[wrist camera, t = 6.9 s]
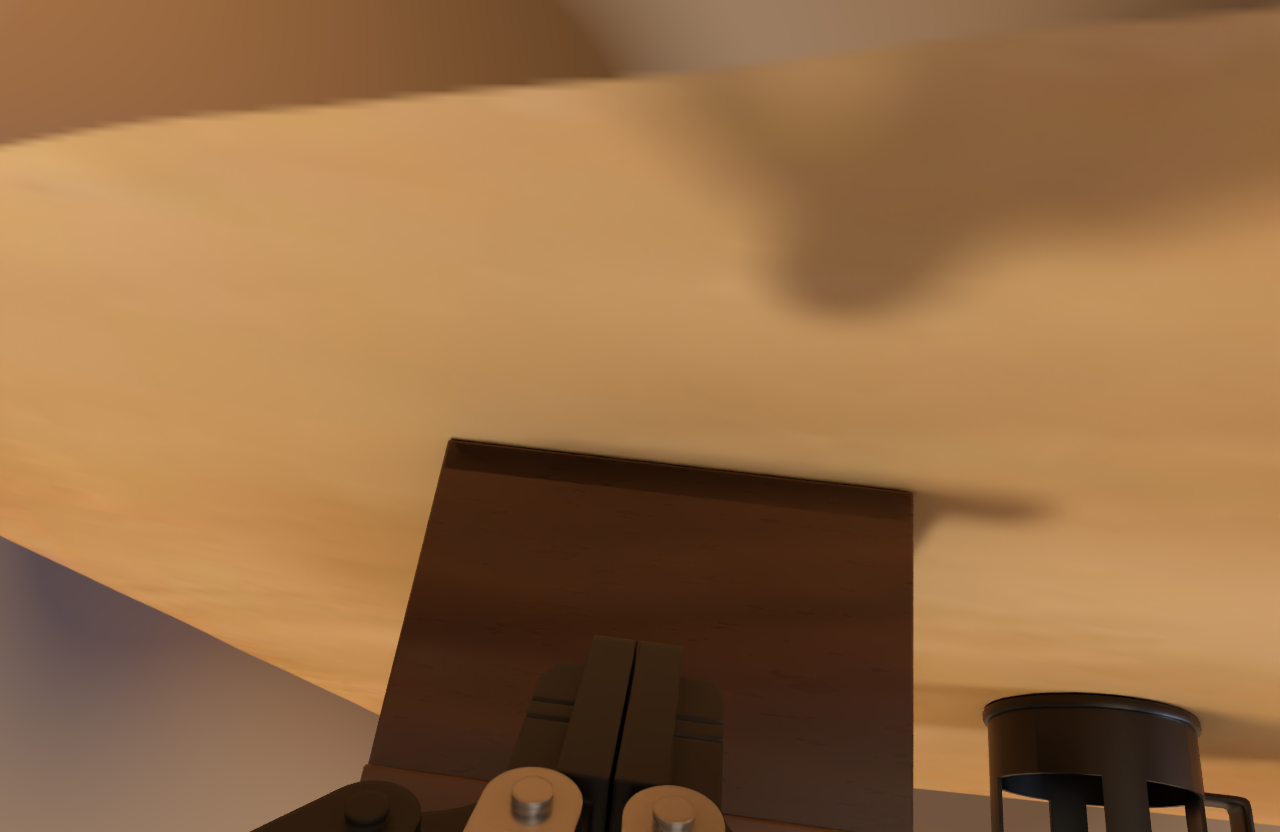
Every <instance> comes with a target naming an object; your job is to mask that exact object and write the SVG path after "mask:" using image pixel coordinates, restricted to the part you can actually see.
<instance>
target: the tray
mask: <svg viewBox="0 0 1280 832" xmlns="http://www.w3.org/2000/svg"><path fill="white" fill-rule="evenodd" d="M594 635H601V636H609V637H616V638H624V639H632V640H637V653H636V662H637V657H638V651H639V646H640V641H649V642H657V643H665V644H673V645H681V646H683V655H682V665H681V674H680V676H682V677H690V678H698V679H705V680H712V681H713V683H714V684H715V686H716V688H717V689H718V691H719V692H720V694H721V696H722V697H723V699H724V725H723V726H724V735H723V772H722V813H723V816H724V819H725V821H726V823H727V825H728V827H729V828H730V829H731V831H732V832H913V493H910V492H901V491H892V490H884V489H875V488H866V487H857V486H849V485H840V484H831V483H822V482H814V481H805V480H796V479H787V478H779V477H770V476H761V475H752V474H744V473H735V472H726V471H717V470H709V469H700V468H691V467H682V466H674V465H665V464H656V463H647V462H639V461H630V460H621V459H612V458H604V457H595V456H586V455H577V454H569V453H560V452H551V451H542V450H534V449H525V448H516V447H507V446H498V445H490V444H481V443H472V442H463V441H455V440H449V441H448V444H447V448H446V452H445V456H444V460H443V464H442V468H441V472H440V476H439V480H438V484H437V488H436V492H435V496H434V500H433V504H432V508H431V512H430V516H429V520H428V524H427V528H426V532H425V536H424V540H423V544H422V548H421V552H420V556H419V561H418V565H417V569H416V573H415V577H414V581H413V585H412V589H411V593H410V597H409V601H408V605H407V609H406V613H405V617H404V621H403V625H402V629H401V633H400V637H399V641H398V645H397V649H396V653H395V657H394V661H393V665H392V669H391V673H390V677H389V681H388V685H387V689H386V693H385V697H384V702H383V706H382V710H381V714H380V718H379V722H378V726H377V730H376V734H375V738H374V742H373V746H372V750H371V754H370V758H369V762H368V764H366V765H365V766H364V767H363V771H362V775H361V780H360V782H363V781H374V780H376V781H387V782H392V783H396V784H399V785H401V786H403V787H405V788H407V789H408V790H410V791H411V792H412V793H413V794H414V795H415V796H416V797H417V799H418V801H419V803H420V806H421V812H429V811H439V810H449V809H455V808H460V807H464V806H468V805H470V804H473V803H475V802H478V800H479V798H480V796H481V794H482V792H483V790H484V789H485V787H486V786H487V784H488V783H489V782H490V781H491V780H493V779H494V778H495V777H497V776H498V775H500V774H502V773H504V772H506V770H507V767H508V764H509V762H510V759H511V756H512V753H513V750H514V748H515V745H516V742H517V739H518V736H519V734H520V731H521V728H522V725H523V722H524V720H525V717H526V716H527V711H528V708H529V706H530V703H531V701H532V698H533V694H534V692H535V689H536V686H537V683H538V680H539V678H540V676H541V675H542V674H544V673H545V672H546V671H547V670H548V669H549V668H551V667H552V666H553V665H554V664H555V663H557V662H558V661H564V662H572V663H580V664H586V661H587V657H588V654H589V650H590V647H591V643H592V640H593V637H594ZM635 667H636V664H635Z"/></svg>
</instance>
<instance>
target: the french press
mask: <svg viewBox="0 0 1280 832" xmlns="http://www.w3.org/2000/svg"><path fill="white" fill-rule="evenodd" d="M983 721H984V723H985V725H986V726H987V727H988V744H989V773H990V799H991V800H990V801H991V829H992V830H991V831H992V832H1004V830H1003V805H1002V790H1003V791H1005V792H1009V793H1013V794H1016V795H1021V796H1026V797H1030V798H1036V799H1042V800H1048V801H1049V811H1050V827H1051V832H1088V823H1087V811H1086V805H1092V806H1104V810H1105V820H1106V821H1105V822H1106V832H1152V830H1151V821H1150V811H1149V808H1166V807H1180V806H1185V811H1186V819H1187V828H1188V832H1208V831H1207V823H1206V815H1205V807H1204V806H1209V807H1217V808H1224V809H1226V810H1227V811H1228V814H1229V819H1230V825H1231V832H1255V829H1254V822H1253V815H1252V809H1251V805H1250V802H1249V801H1248V800H1247V799H1246V798H1242V797H1238V796H1231V795H1222V794H1213V793H1205V792H1204V786H1203V779H1202V771H1201V763H1200V756H1199V748H1198V740H1197V738H1198V737H1200V734H1201V731H1202V728H1201V723H1200V721H1199V719H1198V718H1197V717H1196V716H1195V715H1193V714H1191V713H1190V712H1187V711H1185V710H1182V709H1179V708H1176V707H1172V706H1168V705H1164V704H1161V703H1156V702H1150V701H1145V700H1139V699H1131V698H1123V697H1113V696H1101V695H1079V694H1051V695H1033V696H1024V697H1016V698H1011V699H1006V700H1001V701H998V702H995V703H992V704H990V705H988V706H987V707H985V709H984V711H983Z"/></svg>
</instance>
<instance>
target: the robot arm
mask: <svg viewBox="0 0 1280 832" xmlns="http://www.w3.org/2000/svg"><path fill="white" fill-rule="evenodd" d="M636 653H637V640H632V639H624V638H616V637H609V636H601V635H594V637H593V640H592V643H591V647H590V650H589V654H588V657H587V661H586V664H580V663H572V662H564V661H558V662H557V663H555V664H554V665H553V666H552V667H551V668H549V669H548V670H547V671H546V672H545V673H544V674H542V675H541V676H540V678H539V680H538V683H537V686H536V689H535V692H534V694H533V698H532V701H531V703H530V706H529V708H528V711H527V716H526V717H525V720H524V722H523V725H522V728H521V731H520V734H519V736H518V739H517V742H516V745H515V748H514V750H513V753H512V756H511V759H510V762H509V764H508V767H507V770H506V772H504V773H502V774H500V775H498V776H497V777H495V778H494V779H493V780H491V781H490V782H489V783H488V784H487V786H486V787H485V789H484V790H483V792H482V794H481V796H480V798H479V800H478V802H475V803H473V804H470V805H468V806H464V807H460V808H455V809H449V810H439V811H429V812H421V806H420V803H419V801H418V799H417V797H416V796H415V795H414V794H413V793H412V792H411V791H410V790H408V789H407V788H405V787H403V786H401V785H399V784H396V783H392V782H387V781H376V780H374V781H363V782H357V783H353V784H350V785H347V786H344V787H342V788H340V789H337V790H335V791H333V792H331V793H330V794H327V795H325V796H323V797H321V798H319V799H317V800H315V801H313V802H310V803H308V804H307V805H305V806H302V807H300V808H298V809H296V810H294V811H292V812H290V813H288V814H286V815H284V816H282V817H279V818H277V819H275V820H273V821H271V822H269V823H267V824H265V825H263V826H261V827H259V828H257V829H255V830H253V831H251V832H732V831H731V829H730V828H729V827H728V825H727V823H726V821H725V819H724V816H723V813H722V772H723V735H724V726H723V725H724V699H723V697H722V696H721V694H720V692H719V691H718V689H717V688H716V686H715V684H714V683H713V681H712V680H705V679H698V678H690V677H682V676H680V674H681V665H682V655H683V646H681V645H673V644H665V643H657V642H649V641H640V646H639V651H638V657H637V662H636ZM635 664H636V667H635Z"/></svg>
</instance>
